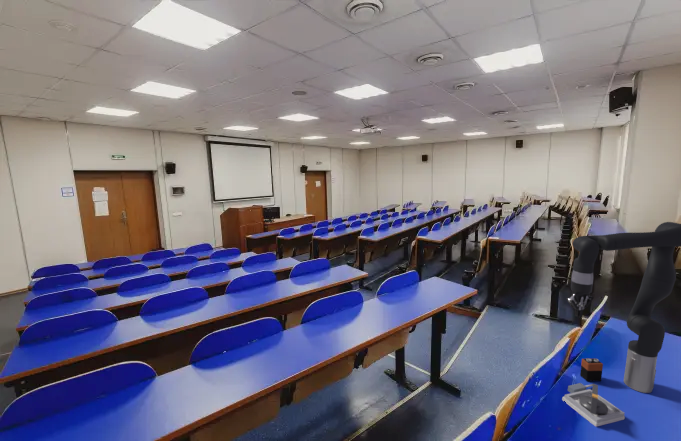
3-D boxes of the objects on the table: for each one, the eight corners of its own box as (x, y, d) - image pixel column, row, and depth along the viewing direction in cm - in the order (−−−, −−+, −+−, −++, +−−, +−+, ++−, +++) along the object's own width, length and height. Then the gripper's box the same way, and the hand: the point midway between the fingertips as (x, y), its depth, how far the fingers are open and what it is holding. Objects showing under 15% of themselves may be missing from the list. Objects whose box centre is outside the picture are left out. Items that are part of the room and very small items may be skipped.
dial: (579, 394, 128) (581, 375, 127) (607, 404, 122) (610, 384, 121) (578, 411, 120) (580, 391, 118) (607, 423, 114) (610, 402, 112)
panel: (588, 393, 131) (589, 387, 130) (624, 419, 117) (625, 412, 117) (562, 399, 128) (562, 393, 128) (595, 426, 115) (596, 419, 114)
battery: (579, 375, 142) (581, 356, 141) (593, 375, 142) (596, 356, 141) (586, 381, 138) (588, 362, 136) (601, 381, 138) (603, 362, 136)
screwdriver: (573, 395, 131) (573, 389, 130) (567, 391, 133) (568, 385, 133) (597, 389, 134) (597, 383, 133) (591, 385, 136) (591, 380, 136)
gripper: (578, 285, 129) (574, 322, 132) (602, 282, 131) (598, 318, 134) (562, 279, 136) (558, 314, 139) (585, 276, 139) (581, 311, 141)
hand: (578, 316), depth 137 cm, fingers closed
